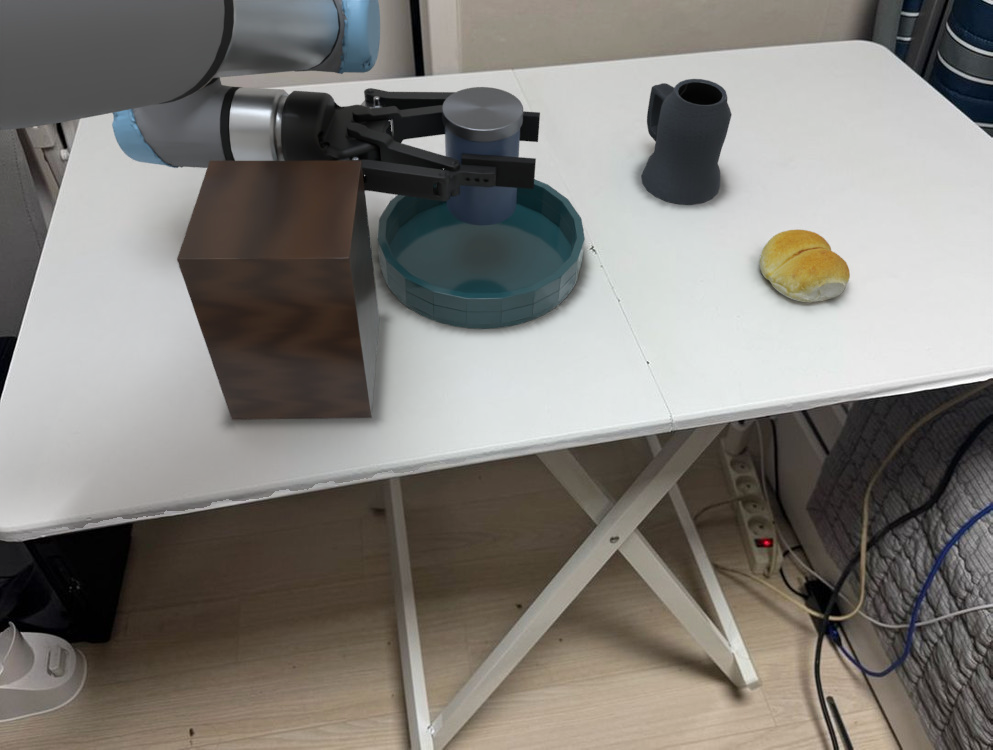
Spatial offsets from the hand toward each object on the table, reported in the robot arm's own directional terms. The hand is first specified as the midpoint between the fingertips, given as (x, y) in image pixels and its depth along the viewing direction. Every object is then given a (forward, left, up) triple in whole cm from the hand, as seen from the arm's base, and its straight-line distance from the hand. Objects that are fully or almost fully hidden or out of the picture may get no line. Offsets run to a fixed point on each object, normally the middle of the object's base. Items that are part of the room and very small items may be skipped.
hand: (536, 149), depth 76 cm
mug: (+18, +16, -14) cm, 27 cm away
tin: (-5, +1, -7) cm, 8 cm away
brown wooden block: (-21, -14, -14) cm, 29 cm away
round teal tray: (-5, +1, -14) cm, 14 cm away
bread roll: (+28, -2, -14) cm, 31 cm away
